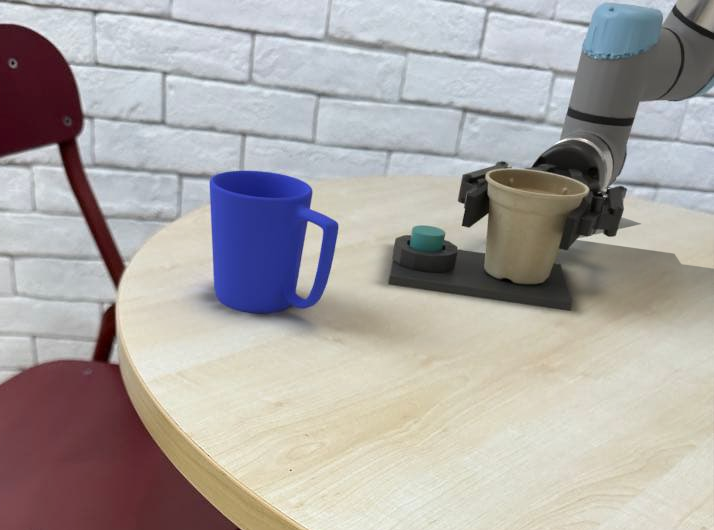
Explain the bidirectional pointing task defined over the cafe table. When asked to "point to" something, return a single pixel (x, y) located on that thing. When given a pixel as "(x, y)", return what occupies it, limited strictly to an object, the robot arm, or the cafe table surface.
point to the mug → (264, 240)
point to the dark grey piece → (471, 276)
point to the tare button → (427, 238)
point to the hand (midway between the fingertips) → (516, 222)
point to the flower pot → (527, 222)
